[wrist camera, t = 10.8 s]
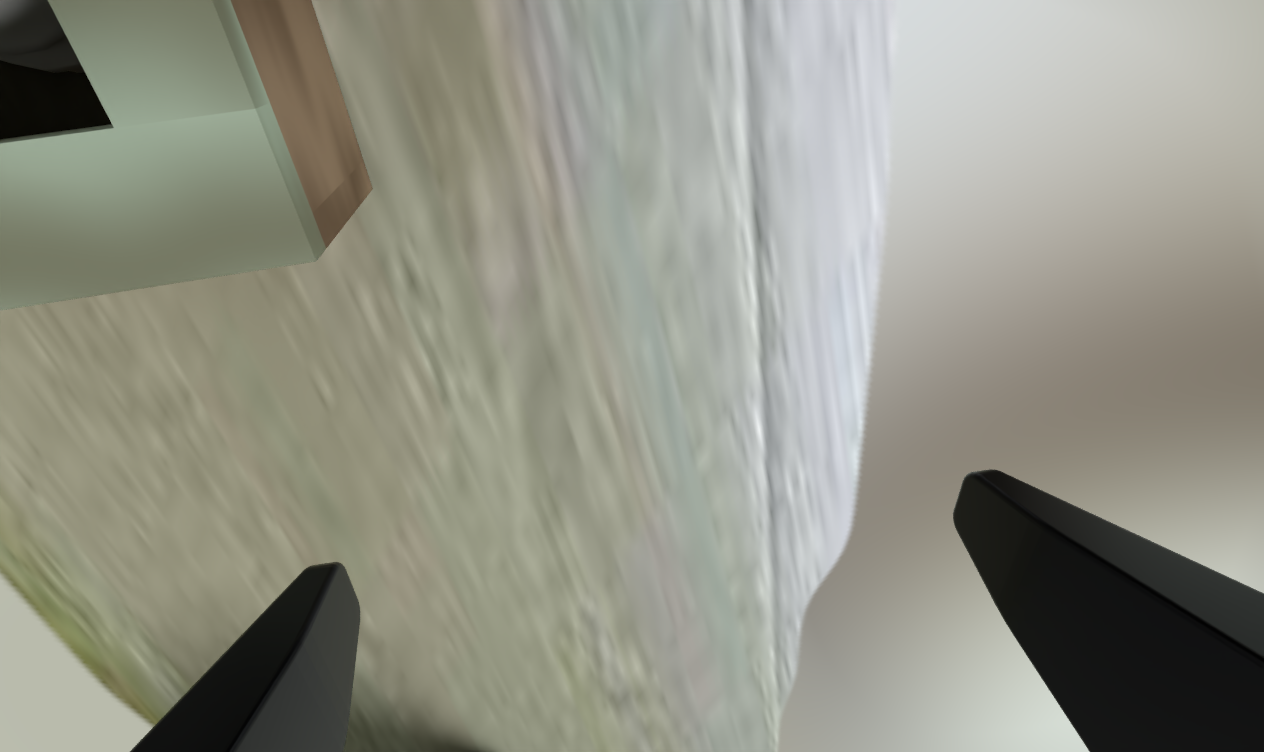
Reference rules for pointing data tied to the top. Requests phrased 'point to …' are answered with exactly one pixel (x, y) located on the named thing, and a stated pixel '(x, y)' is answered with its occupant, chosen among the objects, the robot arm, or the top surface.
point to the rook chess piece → (35, 37)
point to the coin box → (181, 152)
